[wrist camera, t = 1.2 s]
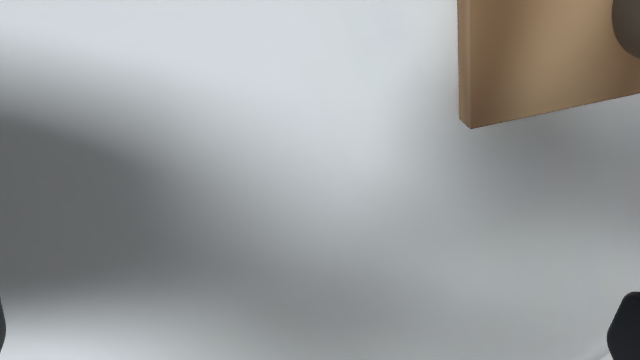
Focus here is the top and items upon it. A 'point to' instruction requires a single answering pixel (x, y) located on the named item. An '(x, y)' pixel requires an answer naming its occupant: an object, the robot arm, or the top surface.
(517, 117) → the tuner board
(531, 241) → the top surface
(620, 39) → the peg
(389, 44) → the top surface
